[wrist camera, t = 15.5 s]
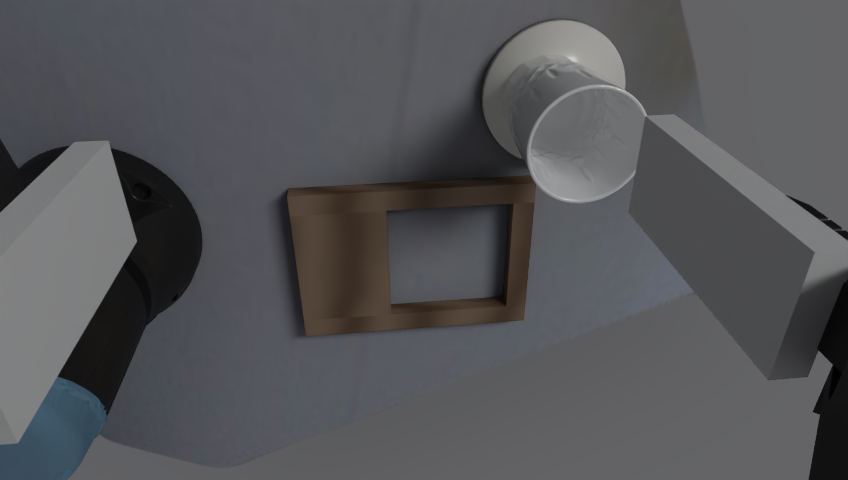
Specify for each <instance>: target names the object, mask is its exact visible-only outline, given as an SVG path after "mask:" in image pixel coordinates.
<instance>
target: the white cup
mask: <svg viewBox="0 0 848 480" xmlns="http://www.w3.org/2000/svg"><path fill="white" fill-rule="evenodd" d="M502 99H503V109H504V117H505V119H506V121H507V123H508V125H509V128H510V132H511V134H512V137H513V139H514V141H515V144H516V146H517V148H518V150H519V152H520V154H521V156H522V158H523V160H524V162H525V164H526V167H527V169H528V171H529V173H530V175H531V177H532V179H533V181H534V182H535V183H536V185H537V186H538V187H539V188H540V189H541V190H542V191H543V192H544V193H546V194H547V195H549V196H550V197H552V198H554V199H557V200H559V201H563V202H567V203H587V202H592V201H596V200H599V199H602V198H605V197H607V196H609V195H611V194H613V193H614V192H616V191H617V190H619V189H620V188H622V187H623V186H624V185H625V184H626V183H627V182H628V181H629V180H630V179H631V178H632V177H633V176H634V175H635V172H636V166H637V161H638V155H639V150H640V144H641V138H642V133H643V127H644V122H645V116H647V114H646V112H645V110H644V108H643V107H642V105H641V104H640V102H639V101H638V100H637V99H636V98H635V97H634V96H632V95H631V94H630V93H628V92H627V91H625V90H623V89H622V88H620V87H618V86H617V85H615V84H614V83H612V82H611V81H609V80H607V79H606V78H604V77H603V76H601V75H599V74H598V73H596V72H595V71H593V70H591V69H589V68H587V67H586V66H584V65H581V64H577V63H575V62H574V61H572V60H570V59H569V58H567V57H565V56H563V55H541V56H539V57H536V58H534V59H532V60H529V61H527V62H525V63H523V64H522V65H521V66H520V68H519V69H518V70H517V71H516V72H515V73H514V74H513V75H512V76H511V77H510V78H509V81H508V83H507V86H506V89H505V92H504V95H503V97H502Z"/></svg>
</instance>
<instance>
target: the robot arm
mask: <svg viewBox="0 0 848 480" xmlns="http://www.w3.org/2000/svg"><path fill="white" fill-rule="evenodd" d="M628 212H629V214H630V215H631V216H632V217H633V218H634V220H635V221H636V222H637V223H638V224H639V226H640V227H641V228H642V229H643V230H644V232H645V233H646V234H647V235H648V236H649V238H650V239H651V240H652V241H653V242H654V244H655V245H656V246H657V247H658V248H659V250H660V251H661V252H662V253H663V254H664V256H665V257H666V258H667V259H668V260H669V262H670V263H671V264H672V265H673V266H674V268H675V269H676V270H677V271H678V272H679V274H680V275H681V276H682V277H683V278H684V280H685V281H686V282H687V283H688V284H689V286H690V287H691V288H692V289H693V290H694V292H695V293H696V294H697V295H698V296H699V298H700V299H701V300H702V301H703V302H704V304H705V305H706V306H707V307H708V308H709V310H710V311H711V312H712V313H713V314H714V316H715V317H716V318H717V319H718V321H719V322H720V323H721V324H722V325H723V326H724V328H725V329H726V330H727V331H728V333H729V334H730V335H731V336H732V337H733V338H734V340H735V341H736V342H737V343H738V345H739V346H740V347H741V348H742V349H743V351H744V352H745V353H746V354H747V355H748V356H749V358H750V359H751V360H752V361H753V362H754V364H755V365H756V366H757V367H758V369H759V370H760V371H761V372H762V373H763V374H764V376H765V377H766V378H767V379H768V380H777V379H788V378H800V377H808V374H809V372H810V370H811V367H812V365H813V362H814V360H815V357H816V355H817V353H818V350H819V351H820V352H821V353H822V354H823V355H824V356H825V357H826V358H827V359H828V360H829V361H830V362H831V363H832V364H833V366H832V368H831V371H830V373H829V375H828V378H827V380H826V382H825V385H824V387H823V389H822V392H821V394H820V396H819V399H818V401H817V403H816V406H815V408H814V410H813V412H814V413H817V414H820V418H819V424H818V429H817V435H816V441H815V446H814V452H813V458H812V464H811V470H810V475H809V480H848V232H847V231H842V228H841V227H840V226H839V225H837V224H836V223H834V222H833V221H831V220H828V218H827V217H826V216H824V215H823V214H822V213H820V212H819V211H817V210H816V209H815V208H813V207H812V206H810V205H808V204H806V203H804V202H801V201H799V200H797V199H794V198H792V197H789V196H787V195H784V194H783V193H781V192H780V191H779V190H777V189H776V188H775V187H773V186H772V185H770V184H769V183H768V182H766V181H765V180H764V179H762V178H761V177H759V176H758V175H757V174H755V173H754V172H753V171H751V170H750V169H748V168H747V167H746V166H744V165H743V164H742V163H740V162H739V161H738V160H736V159H735V158H733V157H732V156H731V155H729V154H728V153H727V152H725V151H724V150H722V149H721V148H720V147H718V146H717V145H715V144H714V143H713V142H711V141H710V140H709V139H707V138H706V137H705V136H703V135H702V134H701V133H699V132H698V131H696V130H695V129H694V128H692V127H691V126H690V125H688V124H687V123H685V122H684V121H683V120H681V119H680V118H679V117H677V116H676V115H655V116H645V122H644V127H643V133H642V138H641V144H640V150H639V155H638V161H637V166H636V172H635V178H634V183H633V189H632V194H631V200H630V206H629V211H628ZM201 252H202V232H201V227H200V223H199V220H198V217H197V215H196V212H195V210H194V208H193V206H192V204H191V203H190V201H189V200H188V198H187V197H186V195H185V194H184V193H183V191H182V190H181V189H180V188H179V187H178V186H177V185H176V184H175V183H174V182H173V181H172V180H171V179H170V178H169V177H168V176H167V175H165V174H164V173H163V172H161V171H160V170H159V169H157V168H156V167H154V166H153V165H151V164H149V163H148V162H146V161H144V160H142V159H140V158H138V157H135V156H133V155H130V154H128V153H125V152H122V151H119V150H115V149H111V148H110V145H109V142H108V141H86V142H74V143H73V144H72V145H71V146H66V147H61V148H56V149H53V150H49V151H47V152H44V153H42V154H40V155H38V156H36V157H34V158H32V159H31V160H29V161H28V162H26V163H25V164H24V165H23V166H21V167H20V168H19V169H18V168H17V166H16V164H15V163H14V161H13V159H12V158H11V156H10V154H9V153H8V151H7V149H6V148H5V146H4V144H3V143H2V141H1V139H0V480H67V479H68V478H69V477H70V476H71V475H72V474H73V473H74V472H75V470H76V469H77V468H78V467H79V465H80V464H81V462H82V460H83V458H84V457H85V455H86V453H87V451H88V449H89V447H90V445H91V444H92V442H93V440H94V439H95V438H96V437H97V436H98V435H99V434H100V431H101V430H102V429H103V428H104V426H105V423H106V420H107V415H108V413H109V411H110V409H111V406H112V404H113V402H114V399H115V397H116V395H117V392H118V390H119V388H120V385H121V383H122V381H123V378H124V376H125V374H126V371H127V369H128V367H129V364H130V362H131V360H132V357H133V355H134V353H135V350H136V348H137V346H138V343H139V341H140V339H141V336H142V334H143V332H144V329H145V327H146V325H148V324H149V323H150V322H151V321H152V320H153V319H154V318H155V317H156V316H157V314H159V313H161V312H163V311H164V310H166V309H167V308H168V307H170V306H171V305H172V304H173V303H175V302H176V301H177V300H178V299H179V298H180V297H181V296H182V294H183V293H184V292H185V290H186V289H187V288H188V286H189V284H190V283H191V281H192V279H193V276H194V274H195V271H196V269H197V266H198V264H199V261H200V257H201Z"/></svg>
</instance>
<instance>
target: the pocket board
mask: <svg viewBox="0 0 848 480" xmlns="http://www.w3.org/2000/svg"><path fill="white" fill-rule="evenodd" d="M535 190H536V183H535V182H534V181H533V179H532V177H531V176H514V177H495V178H476V179H458V180H439V181H420V182H401V183H382V184H364V185H345V186H326V187H307V188H289V189H288V194H287V201H288V208H289V215H290V223H291V230H292V237H293V245H294V252H295V259H296V266H297V274H298V281H299V288H300V295H301V303H302V310H303V317H304V325H305V332H306V336H315V335H328V334H342V333H356V332H369V331H383V330H397V329H411V328H424V327H438V326H452V325H465V324H479V323H493V322H506V321H520V320H524V313H525V301H526V290H527V279H528V268H529V257H530V246H531V235H532V224H533V213H534V201H535ZM498 204H509V212H508V227H507V242H506V257H505V272H504V287H503V297H492V298H478V299H463V300H449V301H434V302H420V303H406V304H391V298H390V277H389V256H388V234H387V213H386V211H392V210H410V209H428V208H445V207H463V206H480V205H498Z"/></svg>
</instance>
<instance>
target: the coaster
mask: <svg viewBox="0 0 848 480" xmlns="http://www.w3.org/2000/svg"><path fill="white" fill-rule="evenodd" d="M541 55H563V56H565V57H567V58H569V59H570V60H572V61H574V62H575V63H577V64H581V65H584V66H586V67H587V68H589V69H591V70H593V71H595V72H596V73H598V74H599V75H601V76H603V77H604V78H606V79H607V80H609V81H611V82H612V83H614V84H615V85H617V86H618V87H620V88H622V89H623V90H625V72H624V67H623V63H622V60H621V58H620V56H619V54H618V52H617V50H616V48H615V47H614V45H613V44H612V43H611V42H610V41H609V39H608V38H607V37H606V36H604V35H603V34H602V33H600V32H599V31H598V30H596V29H594V28H593V27H591V26H589V25H587V24H585V23H582V22H579V21H575V20H570V19H550V20H545V21H541V22H538V23H535V24H532V25H530V26H528V27H526V28H524V29H522V30H520V31H519V32H518V33H516V34H515V35H513V36H512V37H511V38H510V39H509V40H508V41H506V42H505V43H504V44H503V46H502V47H501V48H500V49H499V50H498V51H497V53H496V54H495V56H494V57H493V59H492V61H491V63H490V65H489V67H488V69H487V71H486V74H485V77H484V81H483V85H482V94H481V102H482V110H483V115H484V118H485V121H486V123H487V125H488V128H489V130H490V131H491V133H492V135H493V136H494V138H495V139H496V141H497V142H498V143H499V144H500V145H501V146H502V147H503V148H504V149H505V150H507V151H508V152H509V153H511V154H512V155H514V156H516V157H518V158H521V159H523V158H522V156H521V154H520V152H519V150H518V148H517V146H516V144H515V141H514V139H513V137H512V134H511V132H510V128H509V125H508V123H507V121H506V119H505V117H504V109H503V99H502V97H503V95H504V92H505V89H506V86H507V83H508V81H509V78H510V77H511V76H512V75H513V74H514V73H515V72H516V71H517V70H518V69H519V68H520V66H521V65H522V64H523V63H525V62H527V61H529V60H532V59H534V58H536V57H539V56H541Z"/></svg>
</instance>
